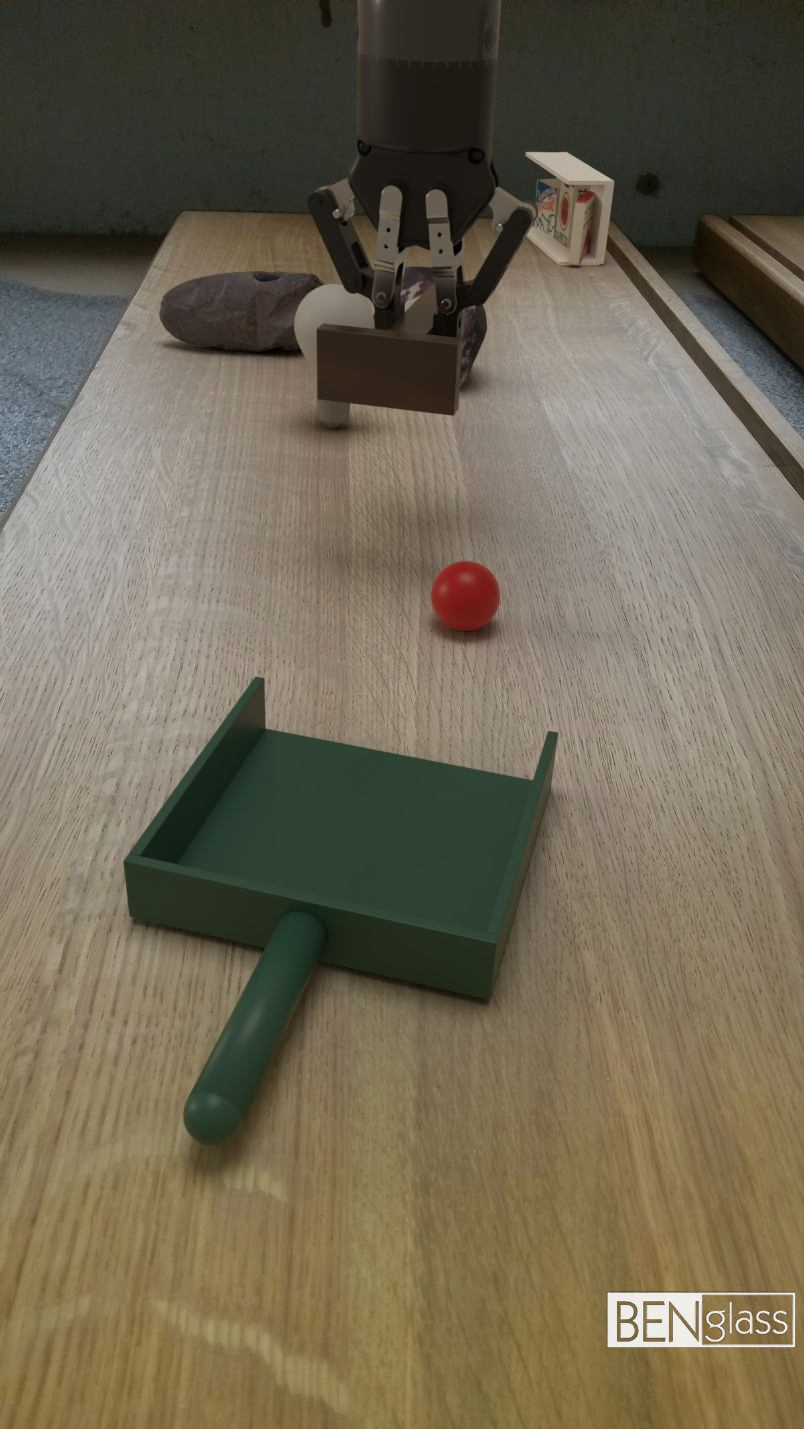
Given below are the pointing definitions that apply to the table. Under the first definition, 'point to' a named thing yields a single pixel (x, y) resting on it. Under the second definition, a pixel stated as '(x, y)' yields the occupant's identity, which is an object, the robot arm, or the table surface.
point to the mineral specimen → (475, 316)
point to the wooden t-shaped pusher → (392, 363)
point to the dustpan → (330, 877)
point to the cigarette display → (571, 210)
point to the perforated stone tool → (237, 309)
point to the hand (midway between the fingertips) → (416, 367)
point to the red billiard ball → (465, 595)
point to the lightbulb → (330, 309)
